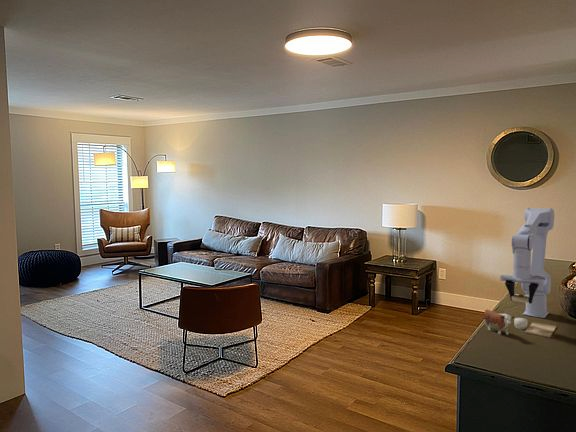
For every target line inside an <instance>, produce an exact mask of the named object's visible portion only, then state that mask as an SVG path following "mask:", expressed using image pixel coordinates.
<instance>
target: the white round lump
mask: <svg viewBox="0 0 576 432" xmlns="http://www.w3.org/2000/svg"><path fill="white" fill-rule="evenodd" d="M513 319H514V323H513V325H514V328H515V329H519V330H527V328H528V319H526V318H523V317H514V318H513Z"/></svg>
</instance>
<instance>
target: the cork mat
mask: <svg viewBox="0 0 576 432" xmlns="http://www.w3.org/2000/svg"><path fill="white" fill-rule="evenodd" d="M557 327H558V326H557V325H552V324H546V323H541V322H535V321H534V322H531V324H529V326H527V329H525V330H524V334H527V335H528V334H529V335H533V336H539V337H544V338H549V339H550V338H551V337H552V335H553V333H554V332H555V330H556V329H557Z"/></svg>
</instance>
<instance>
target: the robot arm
mask: <svg viewBox="0 0 576 432" xmlns="http://www.w3.org/2000/svg"><path fill="white" fill-rule="evenodd" d="M524 221H525V223H524V224H522V225H521V226H520V228H519V230H518V232H517V233H516V234H515V235H512V237H511V248H512V250H511V251H512V254H513V266H512V267H513V268H512V269H513V272H512V273H513V274H512V275H505V274H501V275H500V276H499V277H500V282H505V283H504V285H505V287H506V289H507V291H508V294H509V296H510V301H511V302H513V301H512V296H513V295H515V285H516V283H520V284H521V289H522V290H523V291H524V294H525V295H527V296H529V302H528V303H525V310H524V312H523V313H522V315H523V316H529V317H535V318H543V319H545V318H546V317H547V315H548V314H549V313H550V311H547V295H548V294H550V292H551V290H552V281H551V280H552V279H551V278H552V277H551V275H550V274H549V273H548V272H546V270H544V269H545V258H546V248H547V247H546V246H547V237H548V233H549V231H551V230H553V228H554V223H555V211H554V209H553V208H551V207H550V208H544V207H543V208H540V207H539V208H538V207H536V208H533V207H527V208H526V209H525V211H524Z"/></svg>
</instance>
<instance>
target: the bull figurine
mask: <svg viewBox="0 0 576 432" xmlns="http://www.w3.org/2000/svg"><path fill="white" fill-rule="evenodd" d="M483 317H484V318H483V319H484V320H483V321H484V325H485V326H486V327H487V330H488V331H489V332H492V329H493V326H492V325H494V327H496V326H498V331H497V334H498V335H499V336H500V335H502V329H504V330H505V334H506V336H510V334H509V333H510V332H509V331H508V327H509V325H511V324H512V319H515V316H514V315H513V316H511V315H510V314H507V313H499V312H495V311H493V310H491V309H485V311H484V312H483Z"/></svg>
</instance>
